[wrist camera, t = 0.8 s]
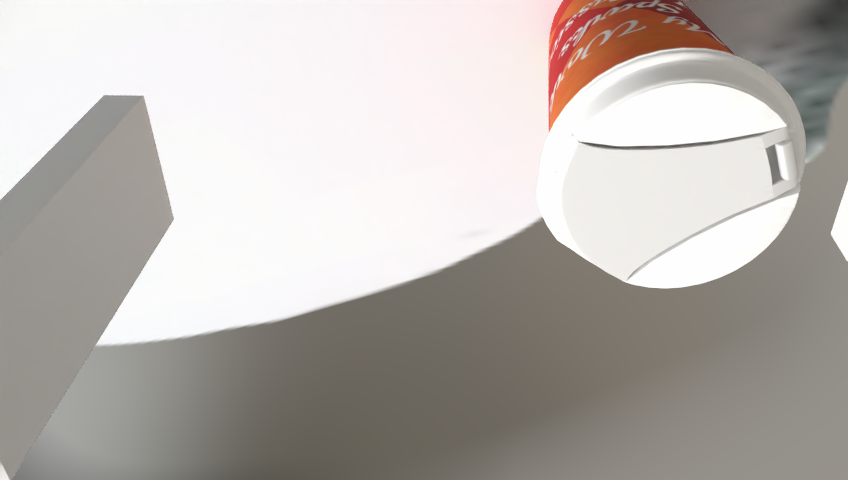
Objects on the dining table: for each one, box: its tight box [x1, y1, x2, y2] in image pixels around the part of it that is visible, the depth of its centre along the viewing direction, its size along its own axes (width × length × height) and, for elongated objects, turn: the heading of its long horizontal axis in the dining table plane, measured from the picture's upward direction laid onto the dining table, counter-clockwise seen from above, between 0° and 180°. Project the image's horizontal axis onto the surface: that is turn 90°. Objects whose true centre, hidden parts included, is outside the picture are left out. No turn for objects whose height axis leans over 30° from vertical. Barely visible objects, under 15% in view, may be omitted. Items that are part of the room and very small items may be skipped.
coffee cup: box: [536, 0, 806, 288], centre depth 30 cm, size 8×8×15 cm
